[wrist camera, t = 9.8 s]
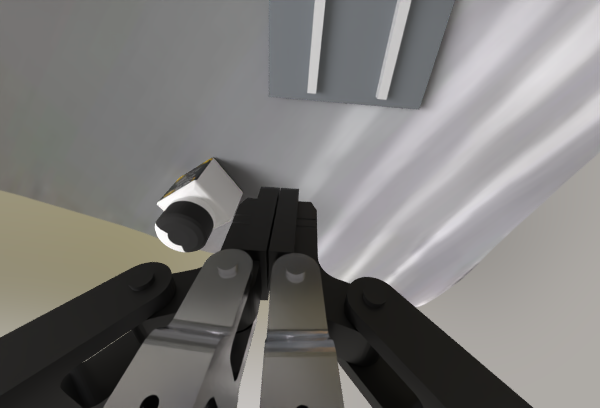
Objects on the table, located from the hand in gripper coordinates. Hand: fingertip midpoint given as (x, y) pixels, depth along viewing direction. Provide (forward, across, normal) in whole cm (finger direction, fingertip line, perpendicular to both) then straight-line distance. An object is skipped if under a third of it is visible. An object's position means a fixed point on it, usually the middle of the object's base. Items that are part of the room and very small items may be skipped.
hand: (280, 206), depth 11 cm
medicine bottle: (+25, +13, +15) cm, 32 cm away
